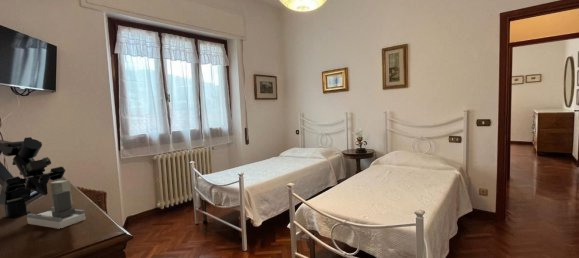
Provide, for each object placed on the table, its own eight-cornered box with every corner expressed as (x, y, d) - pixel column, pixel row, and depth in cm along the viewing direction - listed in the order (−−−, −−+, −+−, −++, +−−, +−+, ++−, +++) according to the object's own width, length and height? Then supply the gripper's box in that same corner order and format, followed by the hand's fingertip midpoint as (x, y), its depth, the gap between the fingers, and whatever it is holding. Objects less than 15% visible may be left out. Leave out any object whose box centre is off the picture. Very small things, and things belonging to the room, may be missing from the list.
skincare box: (73, 205, 129) (70, 179, 129) (64, 208, 125) (61, 182, 124) (61, 205, 130) (58, 180, 129) (52, 208, 126) (49, 182, 125)
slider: (52, 216, 105) (49, 193, 105) (66, 212, 110) (64, 190, 109) (60, 218, 104) (58, 194, 103) (75, 213, 108) (72, 190, 108)
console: (27, 223, 108) (26, 213, 108) (54, 215, 117) (53, 206, 116) (59, 228, 101) (58, 218, 101) (85, 219, 109) (84, 209, 109)
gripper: (0, 158, 101) (20, 190, 98) (59, 148, 118) (78, 175, 115) (-6, 177, 106) (13, 208, 103) (52, 164, 123) (70, 190, 119)
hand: (46, 194), depth 110 cm, fingers closed
